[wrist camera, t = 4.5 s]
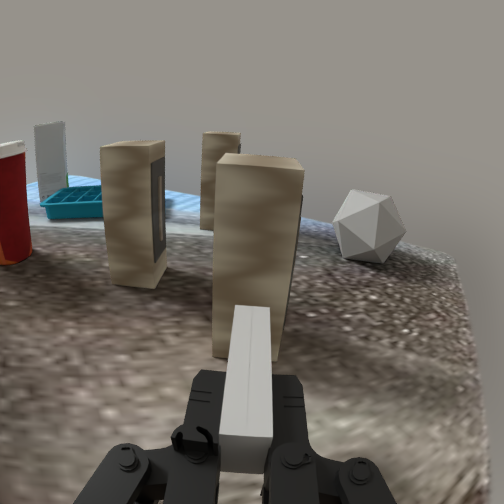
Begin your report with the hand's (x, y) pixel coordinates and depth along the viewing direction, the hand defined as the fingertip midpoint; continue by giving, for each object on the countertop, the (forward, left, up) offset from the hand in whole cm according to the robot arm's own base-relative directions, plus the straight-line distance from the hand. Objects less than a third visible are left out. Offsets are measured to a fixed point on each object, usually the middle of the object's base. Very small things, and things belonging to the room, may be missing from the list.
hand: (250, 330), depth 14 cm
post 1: (-11, +15, -6) cm, 20 cm away
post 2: (-5, +31, -6) cm, 32 cm away
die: (+14, +24, -7) cm, 29 cm away
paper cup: (-30, +16, -7) cm, 35 cm away
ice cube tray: (-26, +36, -7) cm, 45 cm away
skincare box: (-42, +43, -7) cm, 60 cm away
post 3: (0, +7, -6) cm, 10 cm away
